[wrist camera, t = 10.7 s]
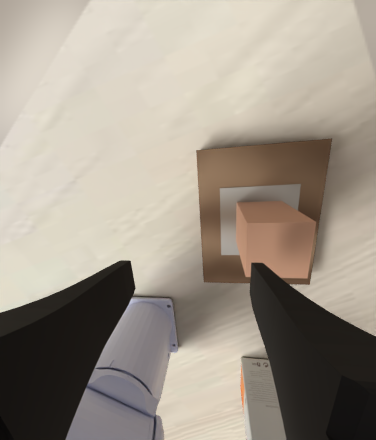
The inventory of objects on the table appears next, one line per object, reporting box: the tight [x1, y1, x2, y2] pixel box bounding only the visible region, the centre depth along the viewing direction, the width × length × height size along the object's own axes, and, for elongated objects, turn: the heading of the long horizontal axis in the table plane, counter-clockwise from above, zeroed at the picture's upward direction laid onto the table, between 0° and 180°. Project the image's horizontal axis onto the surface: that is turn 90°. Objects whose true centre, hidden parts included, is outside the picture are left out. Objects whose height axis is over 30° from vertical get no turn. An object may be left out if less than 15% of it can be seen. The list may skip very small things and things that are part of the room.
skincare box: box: [240, 358, 286, 440], centre depth 21 cm, size 6×4×12 cm
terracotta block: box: [236, 201, 316, 278], centre depth 15 cm, size 4×4×6 cm
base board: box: [196, 139, 332, 285], centre depth 19 cm, size 14×11×2 cm
